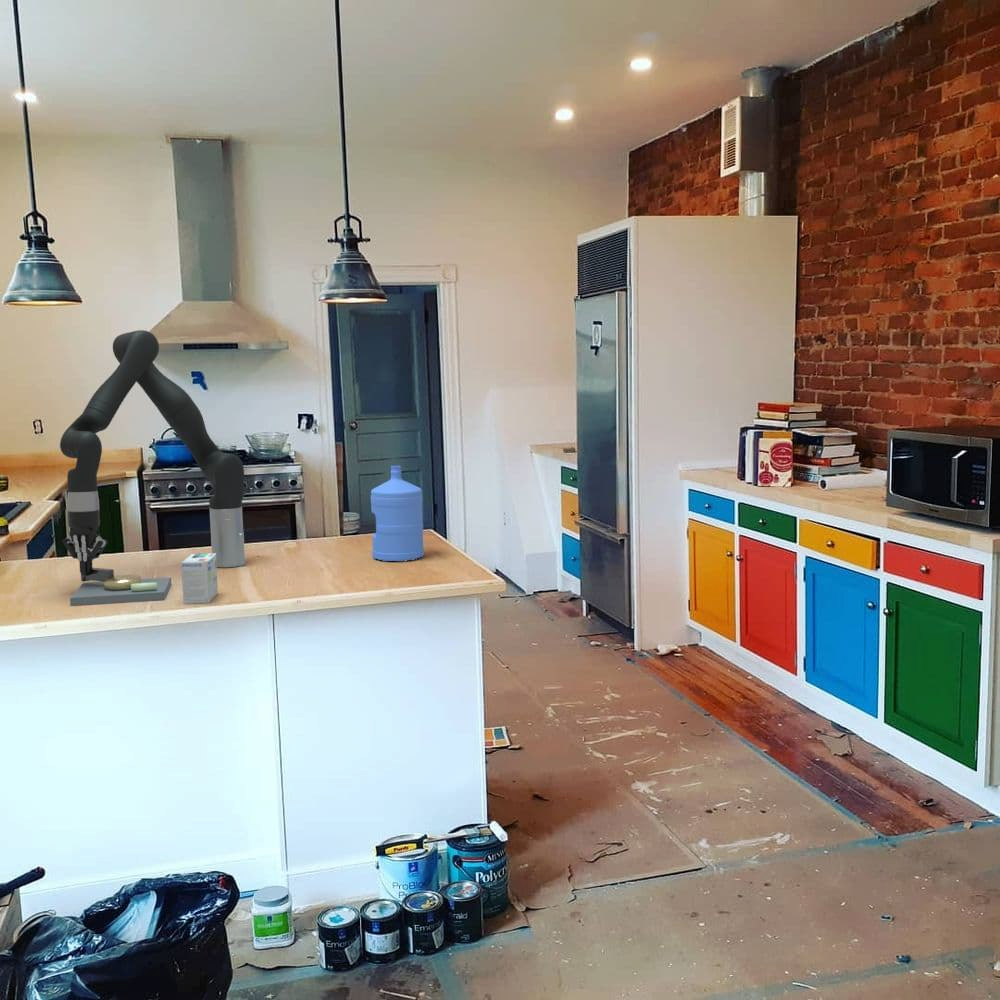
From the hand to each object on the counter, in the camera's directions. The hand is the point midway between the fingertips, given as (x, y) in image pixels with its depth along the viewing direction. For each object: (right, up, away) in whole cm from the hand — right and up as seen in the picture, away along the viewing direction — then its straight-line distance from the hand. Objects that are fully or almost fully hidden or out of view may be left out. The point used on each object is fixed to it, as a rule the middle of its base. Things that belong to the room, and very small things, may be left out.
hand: (86, 574), depth 251 cm
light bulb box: (+32, -6, -6) cm, 33 cm away
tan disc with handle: (+6, -3, 0) cm, 6 cm away
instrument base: (+10, -5, -1) cm, 11 cm away
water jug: (+76, +2, +44) cm, 88 cm away
